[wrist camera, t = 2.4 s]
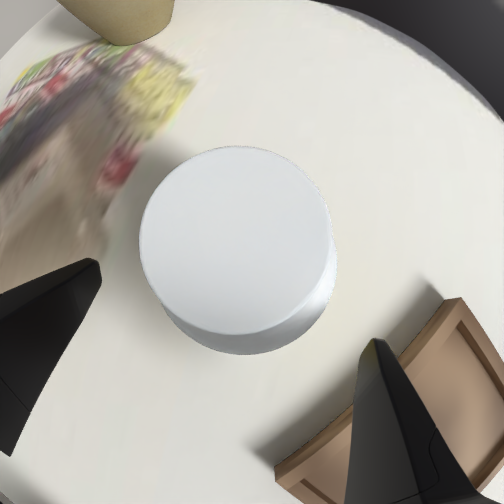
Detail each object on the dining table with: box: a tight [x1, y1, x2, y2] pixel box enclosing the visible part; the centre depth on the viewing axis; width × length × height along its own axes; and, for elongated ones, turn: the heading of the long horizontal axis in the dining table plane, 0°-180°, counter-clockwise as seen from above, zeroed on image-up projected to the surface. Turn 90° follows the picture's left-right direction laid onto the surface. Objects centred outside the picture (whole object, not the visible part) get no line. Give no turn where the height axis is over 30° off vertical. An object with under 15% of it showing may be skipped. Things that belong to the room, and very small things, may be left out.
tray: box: [274, 297, 504, 504], centre depth 14 cm, size 16×16×2 cm
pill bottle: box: [139, 146, 337, 355], centre depth 13 cm, size 6×6×12 cm
